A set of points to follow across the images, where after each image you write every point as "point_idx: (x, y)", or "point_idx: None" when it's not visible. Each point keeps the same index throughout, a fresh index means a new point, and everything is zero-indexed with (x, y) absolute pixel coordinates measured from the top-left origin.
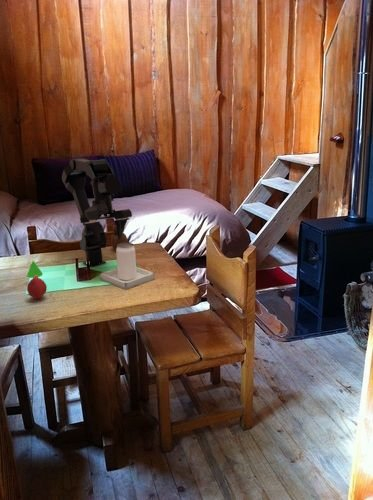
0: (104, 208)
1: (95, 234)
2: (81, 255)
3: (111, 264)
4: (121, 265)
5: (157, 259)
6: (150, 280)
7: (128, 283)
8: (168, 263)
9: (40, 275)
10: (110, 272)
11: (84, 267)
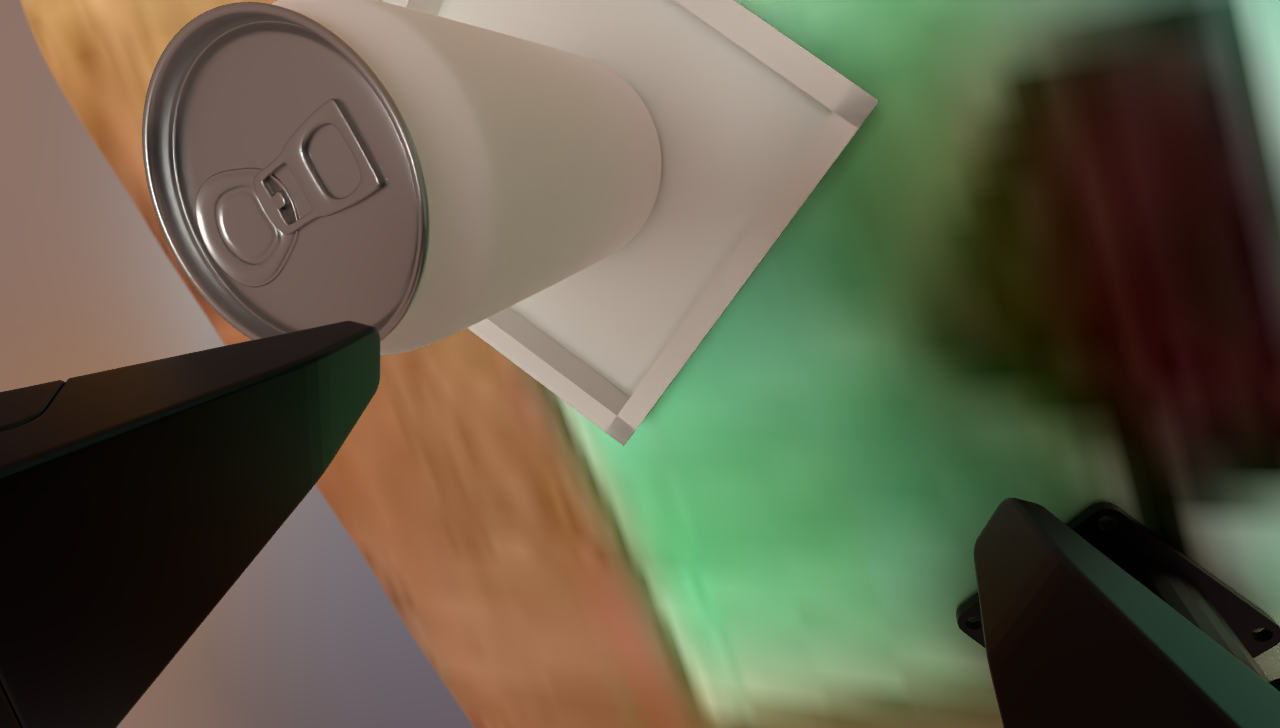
0: None
1: (1171, 646)
2: None
3: (878, 572)
4: (498, 32)
5: (501, 651)
6: None
7: None
8: (394, 560)
9: None
10: (767, 205)
11: (1221, 498)
